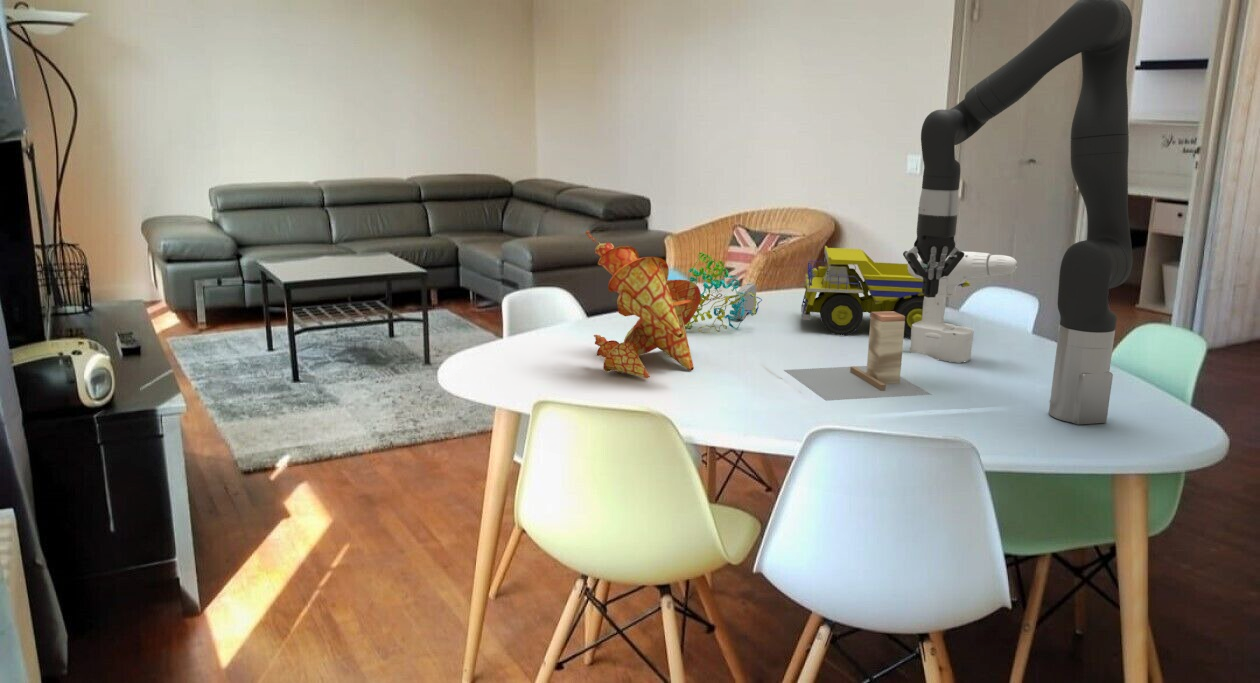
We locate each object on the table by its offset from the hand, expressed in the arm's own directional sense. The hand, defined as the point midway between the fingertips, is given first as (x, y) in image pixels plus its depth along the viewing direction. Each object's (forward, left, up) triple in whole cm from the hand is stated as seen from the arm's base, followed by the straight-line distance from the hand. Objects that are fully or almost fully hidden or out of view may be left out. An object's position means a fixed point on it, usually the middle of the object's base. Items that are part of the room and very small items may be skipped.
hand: (929, 296), depth 192 cm
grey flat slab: (+70, +15, -19) cm, 74 cm away
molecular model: (+55, +29, -19) cm, 65 cm away
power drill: (+17, -17, -19) cm, 30 cm away
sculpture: (+24, +53, -19) cm, 61 cm away
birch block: (0, +9, -17) cm, 20 cm away
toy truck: (+49, -15, -19) cm, 54 cm away
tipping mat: (0, +15, -18) cm, 24 cm away
